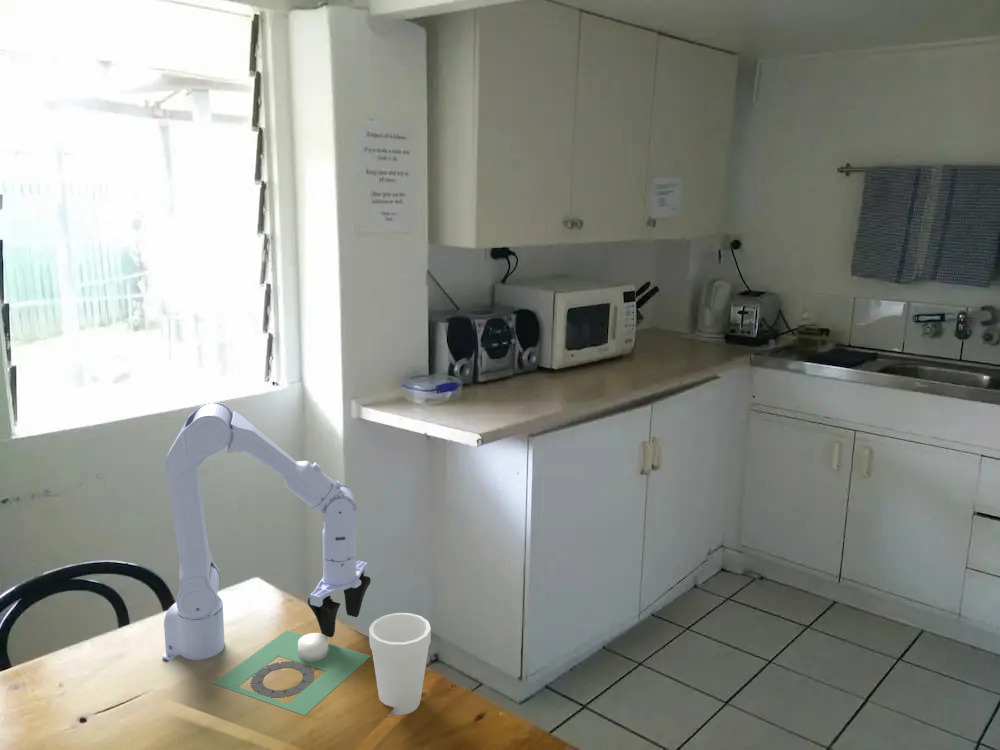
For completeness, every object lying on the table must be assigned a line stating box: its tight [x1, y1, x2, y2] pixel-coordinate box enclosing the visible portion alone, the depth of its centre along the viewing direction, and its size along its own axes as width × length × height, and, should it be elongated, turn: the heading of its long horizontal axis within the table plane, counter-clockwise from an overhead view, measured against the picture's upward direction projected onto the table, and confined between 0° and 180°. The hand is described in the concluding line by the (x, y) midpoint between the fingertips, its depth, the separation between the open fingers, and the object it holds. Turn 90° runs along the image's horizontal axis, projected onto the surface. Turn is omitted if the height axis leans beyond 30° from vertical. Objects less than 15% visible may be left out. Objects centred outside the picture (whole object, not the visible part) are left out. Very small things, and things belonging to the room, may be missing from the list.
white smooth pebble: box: [298, 632, 329, 662], centre depth 136 cm, size 5×5×2 cm
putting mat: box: [212, 629, 372, 717], centre depth 132 cm, size 18×18×2 cm
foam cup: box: [368, 612, 432, 716], centre depth 125 cm, size 10×9×13 cm
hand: (340, 625), depth 143 cm, fingers open, 7 cm apart
